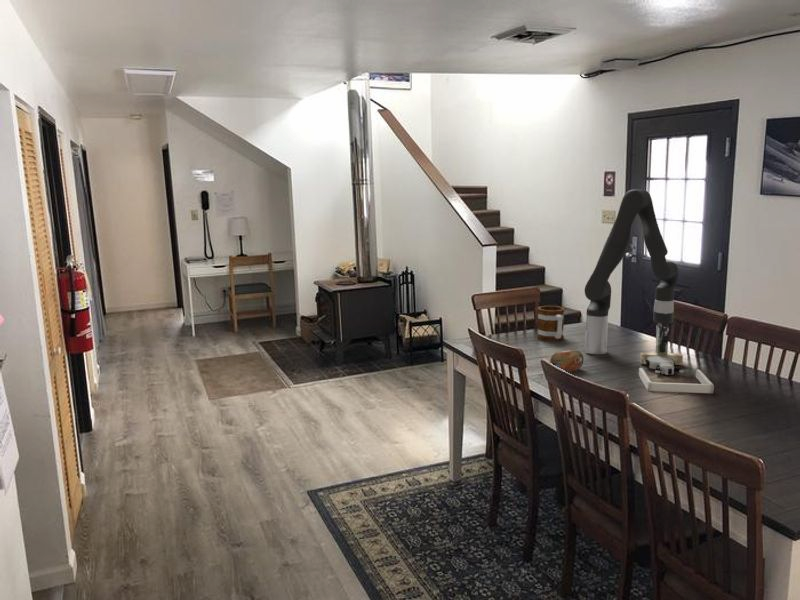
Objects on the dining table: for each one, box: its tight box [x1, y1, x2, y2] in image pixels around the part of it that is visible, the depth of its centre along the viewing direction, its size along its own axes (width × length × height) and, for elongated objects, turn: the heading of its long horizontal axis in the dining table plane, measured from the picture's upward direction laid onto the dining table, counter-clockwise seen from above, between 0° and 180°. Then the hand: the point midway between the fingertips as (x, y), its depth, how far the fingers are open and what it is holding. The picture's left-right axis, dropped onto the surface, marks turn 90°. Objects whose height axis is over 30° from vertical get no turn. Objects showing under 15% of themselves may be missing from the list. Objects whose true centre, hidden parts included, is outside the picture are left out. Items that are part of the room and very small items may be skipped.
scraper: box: [639, 335, 684, 366], centre depth 266 cm, size 16×3×12 cm, turn 80°
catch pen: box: [638, 367, 715, 394], centre depth 242 cm, size 22×19×3 cm
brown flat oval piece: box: [549, 349, 584, 373], centre depth 261 cm, size 15×3×8 cm, turn 112°
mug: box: [536, 305, 565, 342], centre depth 310 cm, size 20×14×15 cm
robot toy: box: [642, 356, 685, 376], centre depth 258 cm, size 12×4×15 cm
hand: (661, 350), depth 266 cm, fingers closed on scraper, 3 cm apart
